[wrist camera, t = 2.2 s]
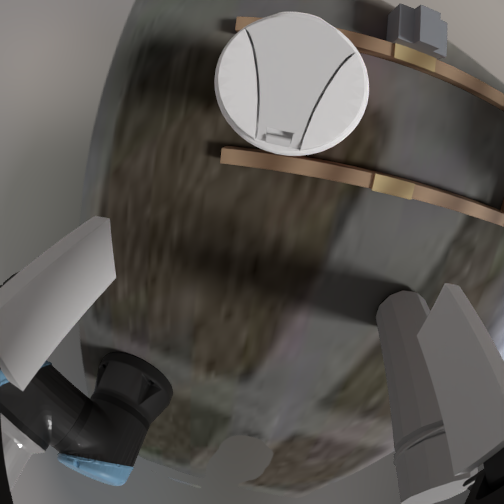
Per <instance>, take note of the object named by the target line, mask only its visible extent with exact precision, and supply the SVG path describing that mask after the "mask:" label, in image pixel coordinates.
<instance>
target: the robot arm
mask: <svg viewBox="0 0 504 504" xmlns="http://www.w3.org/2000/svg"><path fill="white" fill-rule="evenodd" d="M115 278H116V273H115V265H114V257H113V249H112V239H111V228H110V219H109V218H104V217H98V216H94V217H92V218H91V219H89V220H88V221H87V222H85V223H84V224H82V225H81V226H79V227H78V228H76V229H75V230H74V231H72V232H71V233H69V234H68V235H67V236H65V237H64V238H62V239H61V240H60V241H58V242H57V243H56V244H54V245H53V246H52V247H50V248H49V249H48V250H46V251H45V252H44V253H42V254H41V255H40V256H38V257H37V258H36V259H35V260H33V261H32V262H31V263H30V264H28V265H27V266H26V267H25V268H23V269H22V270H21V271H20V272H18V273H16V274H14V275H12V276H11V277H10V278H9V279H7V280H6V281H5V282H4V283H3V285H0V504H13V501H12V496H11V491H12V489H13V487H14V485H15V483H16V481H17V479H18V478H19V476H20V474H21V472H22V470H23V469H24V467H25V465H26V463H27V462H28V460H29V458H30V456H31V455H32V454H34V453H44V452H45V451H46V449H47V448H48V446H49V445H51V446H52V447H54V448H55V449H56V450H58V451H59V453H58V460H59V461H60V462H61V463H63V464H64V465H66V466H67V467H69V468H71V469H73V470H75V471H77V472H79V473H81V474H83V475H85V476H87V477H90V478H92V479H95V480H98V481H100V482H103V483H106V484H109V485H114V486H121V485H123V484H124V483H125V482H126V481H127V479H128V477H129V475H130V473H131V471H132V470H133V468H134V467H133V466H134V464H135V461H136V458H137V456H138V453H139V451H140V448H141V446H142V443H143V441H144V439H145V436H146V434H147V431H148V429H149V426H150V424H151V423H152V422H153V421H154V420H155V419H156V418H157V417H158V416H159V415H160V414H161V413H162V412H163V410H164V409H165V408H166V407H167V406H168V405H169V403H170V400H171V398H172V395H173V389H172V386H171V384H170V383H169V381H168V380H167V379H166V377H165V376H164V375H163V374H162V373H161V372H159V371H158V370H157V369H156V368H154V367H153V366H152V365H150V364H149V363H147V362H145V361H143V360H141V359H139V358H137V357H135V356H132V355H129V354H125V353H119V352H114V353H109V354H107V355H106V356H105V357H104V359H103V361H102V362H101V364H100V366H99V369H98V374H97V379H96V384H95V390H94V393H93V395H92V396H91V398H90V399H89V398H88V397H87V396H86V395H84V394H83V393H82V392H81V391H80V390H79V389H77V388H76V387H75V386H74V385H73V384H72V383H71V382H69V381H68V380H67V379H66V378H65V377H64V376H63V375H62V374H61V373H60V372H58V371H57V370H56V369H55V368H54V367H53V366H52V363H51V362H48V361H47V358H48V357H49V356H50V355H51V353H52V352H53V351H54V349H55V348H56V347H57V346H58V344H59V343H60V342H61V341H62V339H63V338H64V337H65V336H66V335H67V333H68V332H69V331H70V330H71V329H72V327H73V326H74V325H75V324H76V323H77V321H78V320H79V319H80V318H81V317H82V316H83V314H84V313H85V312H86V311H87V310H88V309H89V307H90V306H91V305H92V304H93V303H94V302H95V301H96V299H97V298H98V297H99V296H100V295H101V294H102V293H103V292H104V290H105V289H106V288H107V287H108V286H109V285H110V284H111V283H112V282H113V281H114V279H115ZM417 338H418V341H419V344H420V346H421V349H422V352H423V355H424V358H425V361H426V364H427V367H428V370H429V373H430V377H431V380H432V383H433V386H434V390H435V393H436V397H437V400H438V404H439V408H440V411H441V415H442V419H443V423H444V428H445V432H446V436H447V441H448V445H449V450H450V455H451V461H452V466H453V472H454V476H456V475H460V474H464V473H468V472H471V471H472V470H474V469H475V468H477V467H478V466H480V465H481V464H482V463H483V464H484V469H483V470H481V471H480V472H478V473H477V474H475V475H474V476H472V477H471V478H469V479H468V480H466V481H465V482H464V484H463V485H462V486H464V487H465V486H466V485H468V484H470V483H471V482H473V481H475V482H474V483H473V484H472V485H470V486H469V487H468V488H467V489H469V490H470V493H469V496H468V498H467V500H466V502H465V504H504V361H503V359H502V357H501V355H500V353H499V352H498V350H497V348H496V346H495V344H494V342H493V340H492V339H491V337H490V335H489V333H488V331H487V330H486V328H485V326H484V325H483V323H482V321H481V319H480V318H479V316H478V315H477V313H476V311H475V310H474V308H473V306H472V305H471V303H470V302H469V300H468V299H467V297H466V296H465V294H464V292H463V291H462V289H461V288H460V286H458V285H453V284H448V283H445V284H444V286H443V288H442V290H441V292H440V294H439V296H438V298H437V300H436V302H435V304H434V306H433V308H432V310H431V311H430V313H429V315H428V317H427V319H426V320H425V322H424V324H423V326H422V327H421V329H420V331H419V333H418V334H417Z"/></svg>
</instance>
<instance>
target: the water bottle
mask: <svg viewBox="0 0 504 504" xmlns="http://www.w3.org/2000/svg"><path fill="white" fill-rule="evenodd" d="M429 313H430V310H429V308H428V306H427V303H426V301H425V299H424V298H422V297H421V296H420V295H419V294H418V293H417V292H411V291H400V292H397V293H395V294H392V295H390V296H389V297H388V298H387V299H386V300H385V301H384V302H383V303H381V304H380V305H379V308H378V311H377V314H376V322H377V326H378V331H379V337H380V342H381V347H382V353H383V359H384V365H385V371H386V378H387V385H388V392H389V400H390V408H391V417H392V427H393V439H394V448H395V452H396V453H395V454H394V465H395V466H396V472H397V478H398V485H399V492H400V500H401V504H432V503H436V502H439V501H443V500H445V499H448V498H451V497H453V496H455V495H457V494H459V493H461V492H464V491H465V490H467V488H468V487H469V486H470V485H472V484H473V483H474V482H475V481H473V482H471V483H470V484H468V485H466V486H465V487H464V486H462V485H463V484H464V482H465V481H466V480H468V479H469V478H471V477H472V476H474V475H475V474H477V473H478V468H475V469H474V470H472V471H471V472H468V473H464V474H460V475H456V476H454V472H453V466H452V461H451V455H450V450H449V445H448V441H447V436H446V432H445V428H444V423H443V419H442V415H441V411H440V408H439V404H438V400H437V397H436V393H435V390H434V386H433V383H432V380H431V377H430V373H429V370H428V367H427V364H426V361H425V358H424V355H423V352H422V349H421V346H420V344H419V341H418V338H417V334H418V333H419V331H420V329H421V327H422V326H423V324H424V322H425V320H426V319H427V317H428V315H429Z"/></svg>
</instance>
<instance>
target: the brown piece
mask: <svg viewBox="0 0 504 504" xmlns="http://www.w3.org/2000/svg"><path fill="white" fill-rule="evenodd" d="M259 19H262V18H256V17H237V20H236V27H235V30H236V32H239V31H240V30H241V29H243V28H244V27H246V26H247V25H249V24H251V23H253V22H255V21H257V20H259ZM336 29H338V28H336ZM338 30H339V31H340V32H342V33H343V34H344V35H345V36H346V37H347V38H348V39H349V40H350V41H351V42H352V43H353V45H354V46H355V47H356V48H357V50H358V52H360V53H364V54H368V55H372V56H375V57H379V58H382V59H385V60H389V61H392V62H395V63H398V64H401V65H404V66H407V67H410V68H413V69H415V70H418V71H421V72H423V73H426V74H429V75H431V76H434V77H436V78H438V79H441V80H443V81H446V82H448V83H450V84H452V85H454V86H457V87H459V88H461V89H463V90H465V91H467V92H469V93H471V94H473V95H475V96H477V97H479V98H481V99H483V100H485V101H487V102H488V103H490V104H492V105H494V106H496V107H497V108H499V109H501V110H502V111H504V94H503V93H501V92H500V91H498V90H496V89H495V88H493V87H491V86H489V85H488V84H486V83H484V82H482V81H480V80H479V79H477V78H475V77H473V76H471V75H469V74H467V73H465V72H463V71H461V70H459V69H457V68H455V67H453V66H451V65H448V64H446V63H444V62H442V61H439V60H437V59H436V58H434V57H432V56H430V55H427V54H425V53H422V52H419V51H417V50H414V49H411V48H409V47H406V46H403V45H400V44H397V43H395V44H394V43H391V42H388V41H385V40H381V39H378V38H375V37H371V36H367V35H364V34H360V33H356V32H352V31H347V30H343V29H338ZM220 163H223V164H232V165H240V166H248V167H255V168H262V169H269V170H276V171H282V172H288V173H294V174H300V175H306V176H312V177H317V178H323V179H328V180H333V181H338V182H343V183H348V184H353V185H357V186H362V187H367V188H371V190H372V191H377V192H381V193H385V194H390V195H394V196H398V197H402V198H406V199H410V200H411V198H412V199H416V200H420V201H423V202H427V203H431V204H434V205H438V206H441V207H444V208H448V209H451V210H455V211H458V212H461V213H464V214H467V215H471V216H474V217H477V218H480V219H483V220H486V221H489V222H492V223H495V224H497V225H500V226H503V227H504V199H503V203H502V206H501V209H500V210H499V209H496V208H493V207H491V206H488V205H486V204H483V203H480V202H477V201H475V200H472V199H469V198H466V197H463V196H460V195H457V194H454V193H451V192H448V191H445V190H442V189H438V188H435V187H432V186H429V185H425V184H422V183H418V182H415V181H411V180H408V179H404V178H400V177H396V176H393V175H389V174H385V173H381V172H377V171H373V170H368V169H364V168H360V167H355V166H350V165H346V164H341V163H336V162H331V161H326V160H321V159H315V158H310V157H304V156H287V155H280V154H275V153H272V152H268V151H265V150H258V149H251V148H242V147H234V146H225V147H223V148H222V150H221V161H220Z"/></svg>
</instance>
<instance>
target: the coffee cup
mask: <svg viewBox="0 0 504 504" xmlns="http://www.w3.org/2000/svg"><path fill="white" fill-rule="evenodd" d="M214 82H215V94H216V98H217V102H218V105H219V107H220V110H221V112H222V114H223V116H224V117H225V119H226V121H227V122H228V123H229V125H230V126H231V127H232V128H233V129H234V131H235V132H237V133H238V134H239V135H240V136H241V137H242V138H243V139H245V140H246V141H248V142H249V143H251V144H252V145H254V146H256V147H258V148H261V149H263V150H265V151H268V152H272V153H275V154H280V155H287V156H302V155H310V154H314V153H318V152H321V151H324V150H326V149H329V148H331V147H333V146H335V145H336V144H338V143H339V142H341V141H342V140H344V139H345V138H346V137H347V136H348V135H349V134H350V133H351V132H352V131H353V130H354V129H355V127H356V126H357V125H358V123H359V122H360V120H361V118H362V116H363V114H364V112H365V109H366V106H367V102H368V95H369V79H368V74H367V69H366V67H365V64H364V61H363V59H362V57H361V55H360V53H359V52H358V50H357V48H356V47H355V46H354V45H353V43H352V42H351V41H350V40H349V39H348V38H347V37H346V36H345V35H344V34H343V33H342V32H340V31H339V30H338V29H336V28H335V27H333V26H331V25H330V24H328V23H327V22H326V21H324V20H323V19H321V18H320V17H317V16H314V15H310V14H307V13H300V12H281V13H277V14H274V15H271V16H268V17H265V18H262V19H259V20H257V21H255V22H253V23H251V24H249V25H247V26H246V27H244V28H243V29H241V30H240V31H239V32H237V33H236V34H235V35H234V36H233V37H232V38H231V39H230V41H229V42H228V43H227V45H226V46H225V48H224V49H223V51H222V53H221V55H220V57H219V60H218V63H217V66H216V71H215V79H214Z"/></svg>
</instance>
